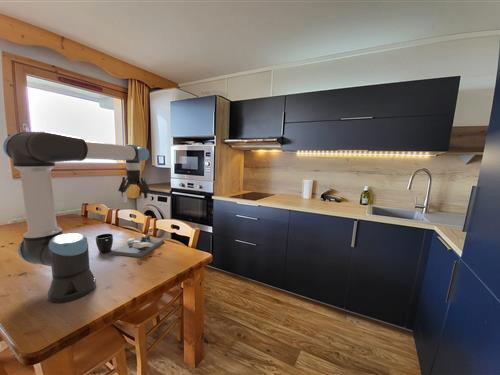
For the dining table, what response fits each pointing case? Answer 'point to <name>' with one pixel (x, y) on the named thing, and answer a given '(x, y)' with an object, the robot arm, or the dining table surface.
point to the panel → (138, 252)
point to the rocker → (141, 245)
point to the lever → (149, 232)
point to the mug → (104, 242)
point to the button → (130, 241)
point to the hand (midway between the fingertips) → (134, 202)
